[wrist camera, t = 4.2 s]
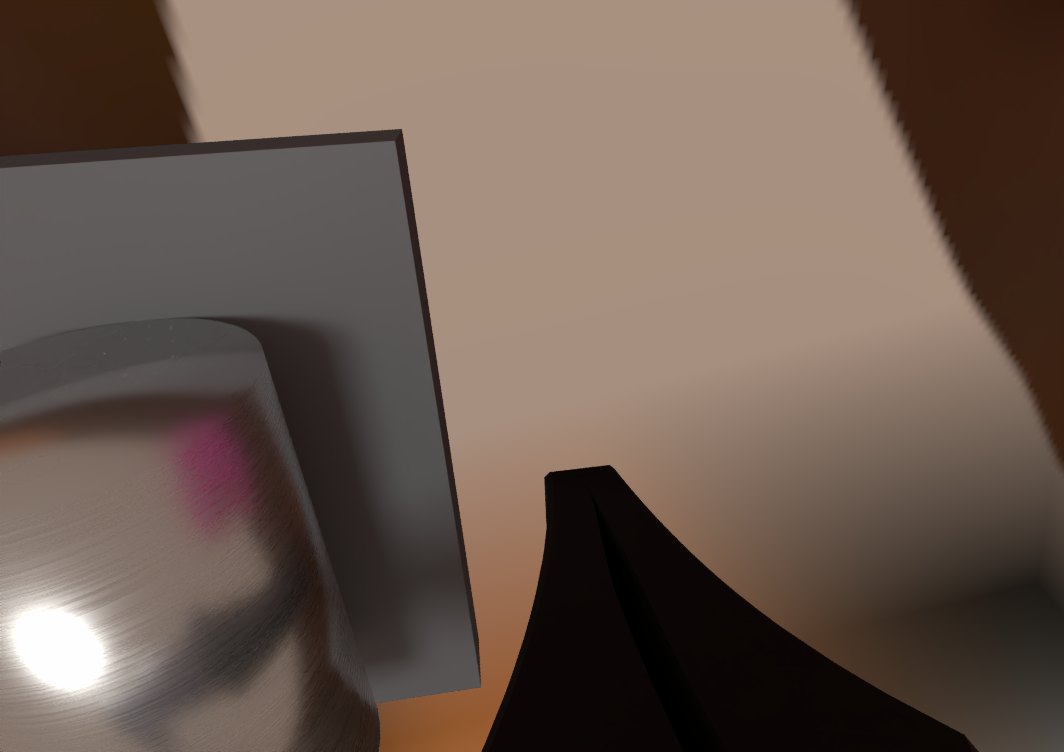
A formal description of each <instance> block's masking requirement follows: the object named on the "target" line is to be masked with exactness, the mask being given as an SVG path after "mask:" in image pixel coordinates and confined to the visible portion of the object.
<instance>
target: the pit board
mask: <svg viewBox="0 0 1064 752" xmlns="http://www.w3.org/2000/svg"><path fill="white" fill-rule="evenodd" d="M170 318H191V319H205V320H213V321H219V322H225V323H228V324H232V325H235V326H238V327H240V328H242V329H244V330H247V331H248V332H250V333H251V334H252V335H254V336H255V337H256V338H257V340H258V341H259V342H260V343H261V346H262V349H263V352H264V355H265V358H266V361H267V364H268V367H269V371H270V374H271V377H272V380H273V383H274V386H275V389H276V392H277V396H278V399H279V402H280V405H281V408H282V411H283V414H284V417H285V421H286V424H287V427H288V430H289V433H290V436H291V439H292V442H293V446H294V449H295V452H296V455H297V458H298V461H299V464H300V467H301V471H302V474H303V477H304V480H305V483H306V486H307V489H308V492H309V496H310V499H311V502H312V505H313V508H314V511H315V514H316V517H317V521H318V524H319V527H320V530H321V533H322V536H323V539H324V542H325V546H326V549H327V552H328V555H329V558H330V561H331V564H332V567H333V571H334V574H335V577H336V580H337V583H338V586H339V589H340V592H341V596H342V599H343V602H344V605H345V608H346V611H347V614H348V617H349V621H350V624H351V627H352V630H353V633H354V636H355V639H356V643H357V646H358V649H359V652H360V655H361V658H362V661H363V664H364V668H365V671H366V674H367V677H368V680H369V683H370V686H371V689H372V693H373V696H374V699H375V702H376V703H381V702H387V701H394V700H400V699H407V698H414V697H420V696H427V695H434V694H440V693H447V692H454V691H460V690H467V689H473V688H480V687H481V679H480V677H481V676H480V656H479V639H478V632H477V625H476V619H475V612H474V606H473V598H472V592H471V585H470V578H469V572H468V566H467V558H466V552H465V545H464V539H463V532H462V525H461V519H460V512H459V505H458V499H457V492H456V486H455V479H454V472H453V465H452V459H451V452H450V446H449V439H448V432H447V426H446V420H445V412H444V406H443V399H442V392H441V386H440V379H439V372H438V366H437V360H436V353H435V346H434V339H433V333H432V326H431V319H430V313H429V306H428V299H427V293H426V287H425V279H424V273H423V266H422V259H421V253H420V246H419V240H418V233H417V227H416V220H415V213H414V206H413V200H412V193H411V186H410V180H409V173H408V166H407V160H406V153H405V146H404V140H403V134H402V129H396V130H382V131H367V132H351V133H337V134H322V135H308V136H292V137H278V138H263V139H248V140H233V141H219V142H204V143H189V144H174V145H160V146H145V147H130V148H115V149H101V150H86V151H71V152H57V153H42V154H27V155H12V156H0V351H4V350H7V349H10V348H13V347H16V346H20V345H23V344H27V343H30V342H34V341H37V340H41V339H45V338H49V337H53V336H57V335H61V334H65V333H69V332H74V331H79V330H84V329H88V328H93V327H99V326H105V325H111V324H117V323H124V322H132V321H142V320H153V319H170Z"/></svg>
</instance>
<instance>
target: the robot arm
mask: <svg viewBox="0 0 1064 752" xmlns="http://www.w3.org/2000/svg"><path fill="white" fill-rule="evenodd" d="M544 479H545V501H546V523H547V530H546V539H545V547H544V554H543V561H542V566H541V570H540V575H539V581H538V586H537V590H536V595H535V599H534V603H533V607H532V611H531V615H530V619H529V622H528V626H527V629H526V633H525V636H524V640H523V643H522V646H521V649H520V652H519V655H518V658H517V661H516V664H515V667H514V670H513V673H512V676H511V679H510V682H509V685H508V687H507V690H506V693H505V695H504V698H503V701H502V703H501V705H500V708H499V710H498V713H497V715H496V718H495V720H494V723H493V725H492V728H491V730H490V733H489V735H488V738H487V740H486V743H485V745H484V747H483V749H482V752H978V750H977V749H976V748H975V747H974V746H973V745H972V743H971V742H970V741H969V740H968V739H967V737H966V736H965V735H964V734H962V733H960V732H958V731H956V730H954V729H952V728H950V727H949V726H947V725H945V724H943V723H941V722H939V721H937V720H935V719H933V718H932V717H930V716H928V715H926V714H924V713H922V712H920V711H918V710H916V709H914V708H913V707H911V706H909V705H907V704H905V703H903V702H901V701H899V700H897V699H896V698H894V697H892V696H890V695H888V694H886V693H885V692H883V691H881V690H879V689H878V688H876V687H874V686H872V685H871V684H869V683H868V682H866V681H864V680H863V679H861V678H859V677H857V676H856V675H854V674H852V673H851V672H849V671H847V670H846V669H844V668H842V667H841V666H839V665H837V664H836V663H834V662H833V661H831V660H830V659H828V658H827V657H825V656H824V655H822V654H821V653H819V652H818V651H816V650H815V649H813V648H812V647H810V646H809V645H807V644H806V643H804V642H803V641H801V640H800V639H798V638H797V637H795V636H794V635H792V634H791V633H789V632H788V631H786V630H785V629H783V628H782V627H780V626H779V625H778V624H776V623H775V622H774V621H772V620H771V619H770V618H768V617H767V616H766V615H764V614H763V613H762V612H760V611H759V610H757V609H756V608H755V607H754V606H753V605H751V604H750V603H749V602H747V601H746V600H745V599H744V598H742V597H741V596H740V595H739V594H737V593H736V592H735V591H734V590H733V589H731V588H730V587H729V586H728V585H727V584H725V583H724V582H723V581H722V580H721V579H720V578H718V577H717V576H716V575H715V574H714V573H713V572H712V571H710V570H709V569H708V568H707V567H706V566H705V565H704V564H703V563H702V562H700V560H698V559H697V558H696V557H695V556H694V555H693V554H692V553H691V552H690V551H689V550H688V549H687V548H686V547H685V546H684V545H683V544H682V543H681V542H680V541H679V540H678V539H677V538H676V537H675V536H674V535H673V534H672V533H671V532H670V531H669V530H668V529H667V528H666V527H665V526H664V525H663V524H662V523H661V522H660V521H659V520H658V519H657V518H656V517H655V516H654V515H653V513H652V512H651V511H650V510H649V509H648V508H647V507H646V506H645V505H644V504H643V502H642V501H641V500H640V499H639V498H638V497H637V495H636V494H635V493H634V492H633V491H632V490H631V488H630V487H629V486H628V485H627V484H626V483H625V481H624V480H623V479H622V478H621V476H620V475H619V474H618V473H617V471H616V470H615V469H614V468H613V467H611V466H610V465H606V466H597V467H589V468H580V469H572V470H564V471H556V472H549V473H548V474H547V475H546V476H545V477H544Z"/></svg>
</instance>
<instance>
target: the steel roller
mask: <svg viewBox="0 0 1064 752" xmlns="http://www.w3.org/2000/svg"><path fill="white" fill-rule="evenodd" d="M379 747H380V719H379V713H378V708H377V705H376V702H375V699H374V696H373V693H372V689H371V686H370V683H369V680H368V677H367V674H366V671H365V668H364V664H363V661H362V658H361V655H360V652H359V649H358V646H357V643H356V639H355V636H354V633H353V630H352V627H351V624H350V621H349V617H348V614H347V611H346V608H345V605H344V602H343V599H342V596H341V592H340V589H339V586H338V583H337V580H336V577H335V574H334V571H333V567H332V564H331V561H330V558H329V555H328V552H327V549H326V546H325V542H324V539H323V536H322V533H321V530H320V527H319V524H318V521H317V517H316V514H315V511H314V508H313V505H312V502H311V499H310V496H309V492H308V489H307V486H306V483H305V480H304V477H303V474H302V471H301V467H300V464H299V461H298V458H297V455H296V452H295V449H294V446H293V442H292V439H291V436H290V433H289V430H288V427H287V424H286V421H285V417H284V414H283V411H282V408H281V405H280V402H279V399H278V396H277V392H276V389H275V386H274V383H273V380H272V377H271V374H270V371H269V367H268V364H267V361H266V358H265V355H264V352H263V349H262V346H261V343H260V342H259V341H258V340H257V338H256V337H255V336H254V335H252V334H251V333H250V332H248V331H247V330H244V329H242V328H240V327H238V326H235V325H232V324H228V323H225V322H219V321H213V320H205V319H191V318H170V319H153V320H142V321H132V322H124V323H117V324H111V325H105V326H99V327H93V328H88V329H84V330H79V331H74V332H69V333H65V334H61V335H57V336H53V337H49V338H45V339H41V340H37V341H34V342H30V343H27V344H23V345H20V346H16V347H13V348H10V349H7V350H4V351H0V752H379Z"/></svg>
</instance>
